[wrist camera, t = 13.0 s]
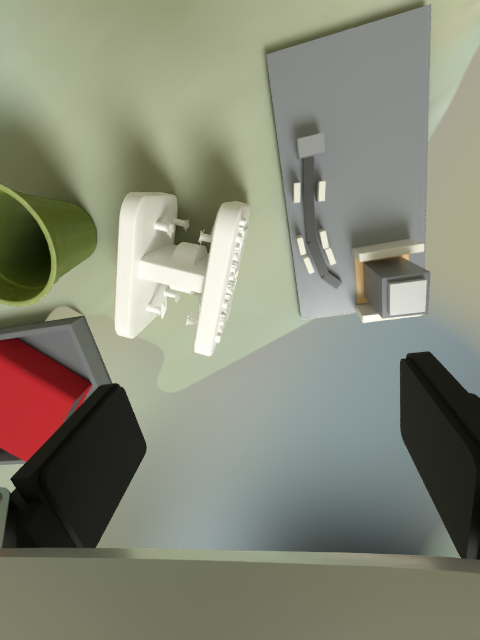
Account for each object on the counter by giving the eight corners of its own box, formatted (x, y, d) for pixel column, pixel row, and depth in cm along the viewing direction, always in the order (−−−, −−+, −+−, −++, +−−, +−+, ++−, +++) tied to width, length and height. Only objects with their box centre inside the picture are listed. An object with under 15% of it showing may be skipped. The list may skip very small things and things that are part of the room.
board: (266, 59, 29) (264, 36, 25) (424, 12, 26) (452, -24, 22) (301, 316, 39) (303, 331, 34) (419, 300, 36) (438, 315, 32)
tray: (-68, 339, 48) (-89, 347, 45) (84, 315, 43) (70, 323, 40) (3, 452, 57) (-11, 465, 54) (137, 444, 51) (129, 458, 49)
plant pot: (19, 248, 40) (-72, 267, 30) (41, 161, 35) (-58, 149, 25) (99, 294, 41) (38, 328, 31) (130, 216, 37) (70, 225, 26)
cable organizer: (168, 183, 35) (117, 179, 24) (257, 204, 34) (246, 209, 24) (156, 302, 41) (111, 341, 30) (231, 321, 40) (213, 367, 30)
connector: (363, 262, 34) (384, 280, 27) (401, 256, 33) (433, 273, 26) (364, 296, 35) (384, 321, 28) (401, 291, 34) (430, 316, 27)
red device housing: (11, 331, 45) (-20, 347, 41) (94, 381, 47) (73, 402, 42) (-16, 406, 52) (-44, 426, 48) (58, 447, 54) (37, 470, 49)
